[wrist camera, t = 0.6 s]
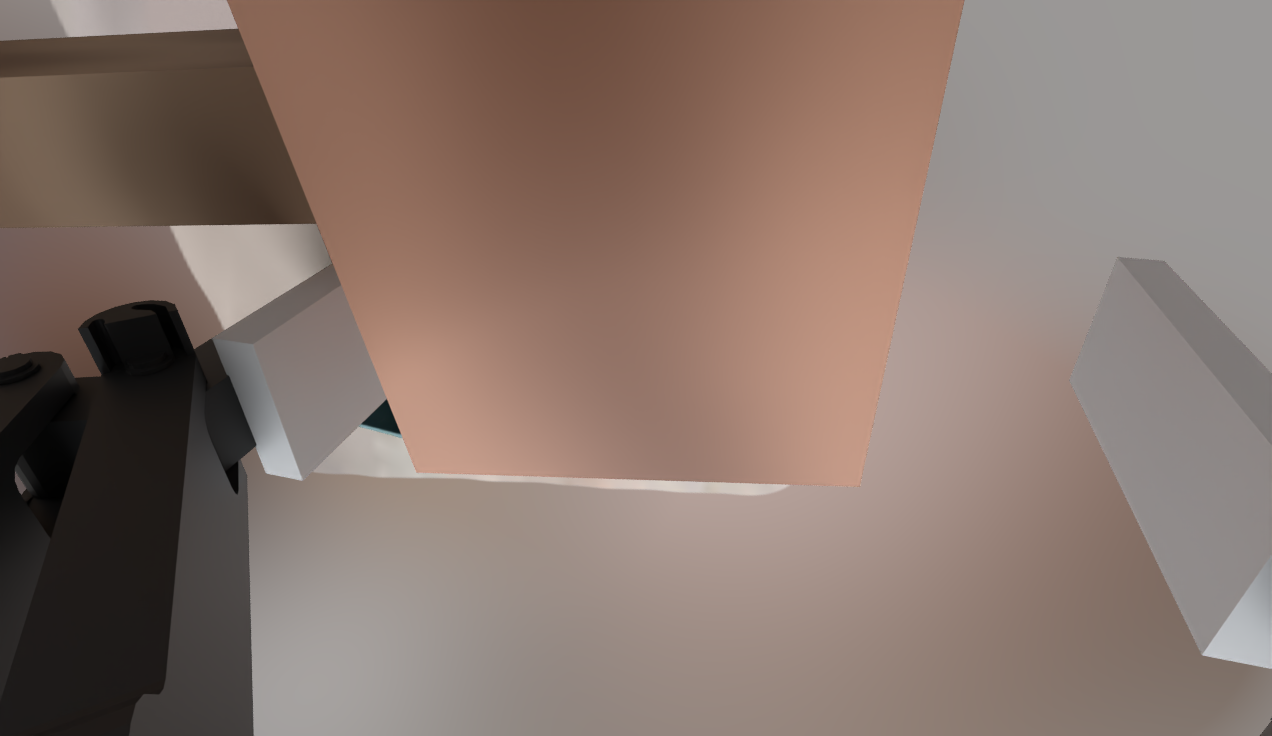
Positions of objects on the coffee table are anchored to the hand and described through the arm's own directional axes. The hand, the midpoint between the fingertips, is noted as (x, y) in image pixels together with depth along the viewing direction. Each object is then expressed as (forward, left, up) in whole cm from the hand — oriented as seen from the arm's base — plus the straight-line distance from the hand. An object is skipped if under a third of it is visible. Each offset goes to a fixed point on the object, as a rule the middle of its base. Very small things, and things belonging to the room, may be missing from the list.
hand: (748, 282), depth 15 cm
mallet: (+4, -10, -1) cm, 11 cm away
